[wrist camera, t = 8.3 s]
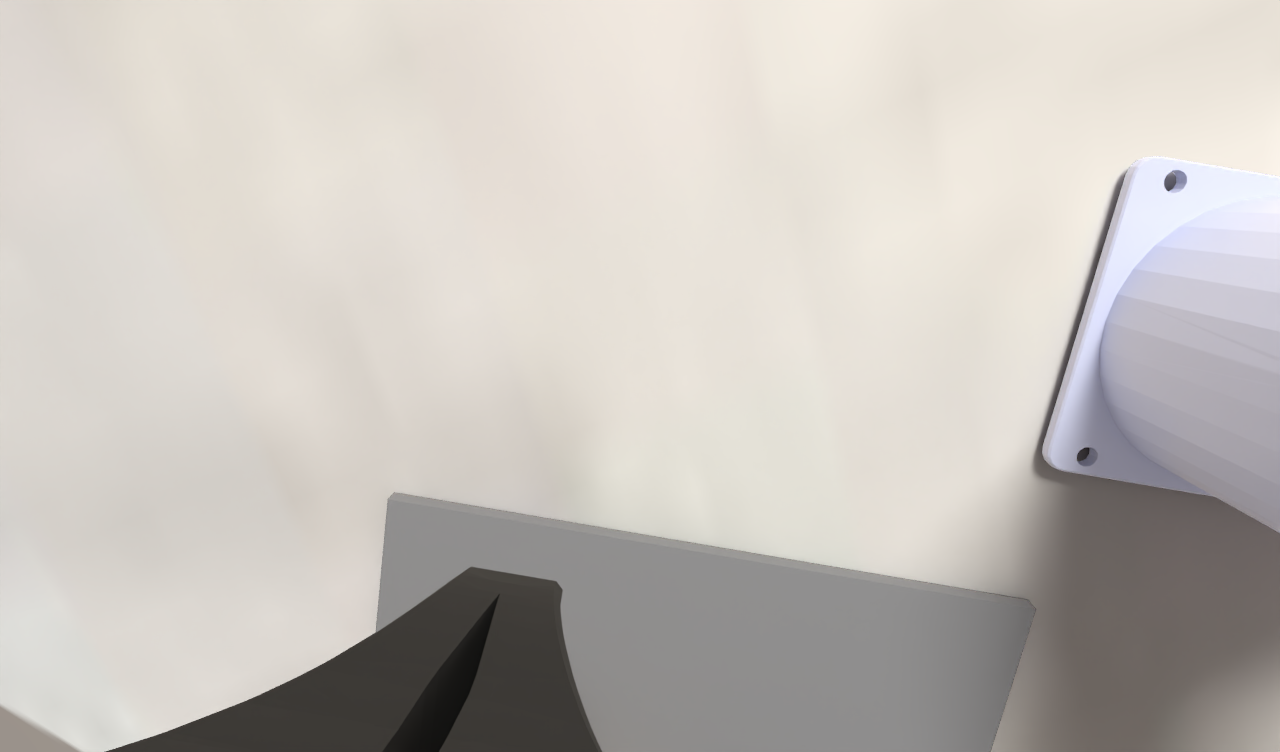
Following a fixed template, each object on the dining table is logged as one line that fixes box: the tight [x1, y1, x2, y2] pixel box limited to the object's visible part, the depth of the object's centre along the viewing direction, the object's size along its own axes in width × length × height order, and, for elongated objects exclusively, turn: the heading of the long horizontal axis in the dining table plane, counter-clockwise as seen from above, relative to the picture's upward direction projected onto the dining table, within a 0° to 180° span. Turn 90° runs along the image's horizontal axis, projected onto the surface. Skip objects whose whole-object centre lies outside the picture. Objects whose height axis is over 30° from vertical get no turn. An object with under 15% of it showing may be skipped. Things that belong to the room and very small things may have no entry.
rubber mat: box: [376, 492, 1036, 752], centre depth 23 cm, size 18×12×1 cm, turn 81°
